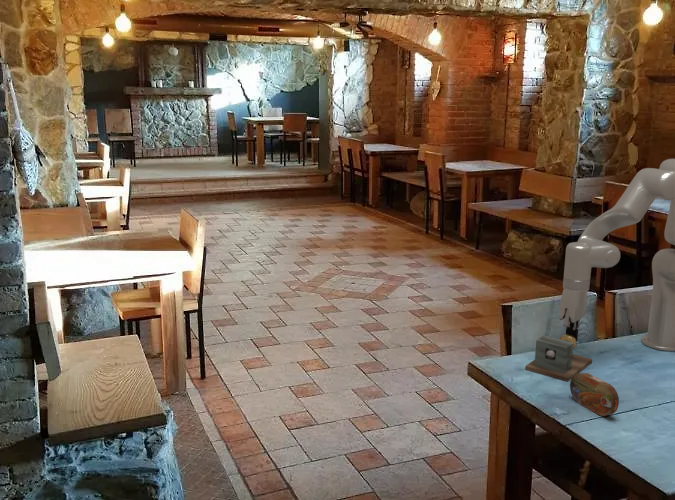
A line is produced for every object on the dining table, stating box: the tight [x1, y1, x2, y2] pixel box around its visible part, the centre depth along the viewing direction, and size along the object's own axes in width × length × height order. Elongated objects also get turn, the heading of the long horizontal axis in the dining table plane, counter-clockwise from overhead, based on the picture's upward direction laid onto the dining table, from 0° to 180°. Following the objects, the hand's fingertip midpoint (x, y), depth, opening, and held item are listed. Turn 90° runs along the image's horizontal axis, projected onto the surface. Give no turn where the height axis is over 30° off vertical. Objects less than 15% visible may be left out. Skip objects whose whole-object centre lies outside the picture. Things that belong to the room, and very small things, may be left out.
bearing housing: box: [524, 335, 593, 383], centre depth 202 cm, size 18×13×9 cm
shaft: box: [546, 333, 578, 358], centre depth 202 cm, size 13×5×5 cm, turn 139°
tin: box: [569, 372, 620, 417], centre depth 176 cm, size 15×3×8 cm, turn 23°
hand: (571, 340), depth 208 cm, fingers closed
